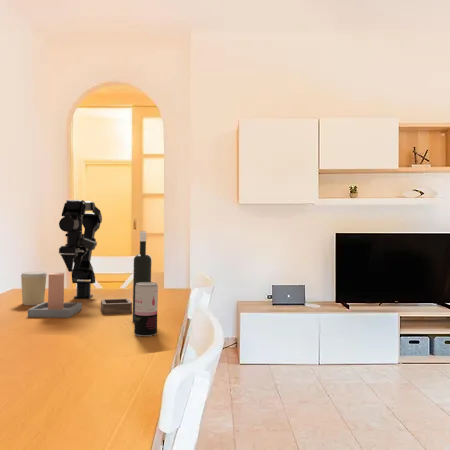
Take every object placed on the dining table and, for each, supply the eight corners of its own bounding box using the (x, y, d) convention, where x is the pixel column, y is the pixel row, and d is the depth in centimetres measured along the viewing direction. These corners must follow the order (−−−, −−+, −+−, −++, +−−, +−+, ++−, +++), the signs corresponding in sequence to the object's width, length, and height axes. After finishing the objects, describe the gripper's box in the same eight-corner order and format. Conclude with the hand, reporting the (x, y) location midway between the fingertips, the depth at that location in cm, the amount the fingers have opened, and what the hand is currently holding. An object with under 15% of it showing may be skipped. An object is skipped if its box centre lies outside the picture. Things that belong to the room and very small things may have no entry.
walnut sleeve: (100, 308, 171) (100, 299, 171) (128, 307, 174) (128, 298, 174) (102, 314, 161) (102, 304, 161) (132, 312, 164) (132, 303, 164)
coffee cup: (50, 301, 183) (51, 271, 183) (38, 306, 173) (39, 274, 173) (28, 300, 184) (28, 271, 184) (15, 305, 174) (16, 273, 174)
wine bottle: (129, 321, 150) (130, 230, 150) (143, 318, 155) (144, 230, 155) (139, 324, 147) (141, 231, 146) (153, 321, 151) (155, 231, 151)
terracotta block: (48, 309, 162) (49, 272, 162) (63, 308, 164) (64, 272, 164) (47, 312, 158) (48, 274, 158) (63, 311, 159) (63, 274, 159)
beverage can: (151, 330, 138) (152, 281, 138) (160, 335, 133) (161, 284, 133) (131, 333, 135) (132, 282, 135) (139, 338, 129) (140, 285, 129)
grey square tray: (43, 309, 168) (43, 302, 168) (81, 309, 168) (81, 302, 168) (27, 316, 154) (27, 309, 154) (69, 317, 154) (69, 310, 154)
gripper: (88, 232, 172) (87, 273, 172) (101, 231, 190) (100, 268, 190) (58, 231, 171) (58, 272, 171) (74, 230, 190) (73, 268, 190)
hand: (73, 270), depth 181 cm, fingers open, 9 cm apart
